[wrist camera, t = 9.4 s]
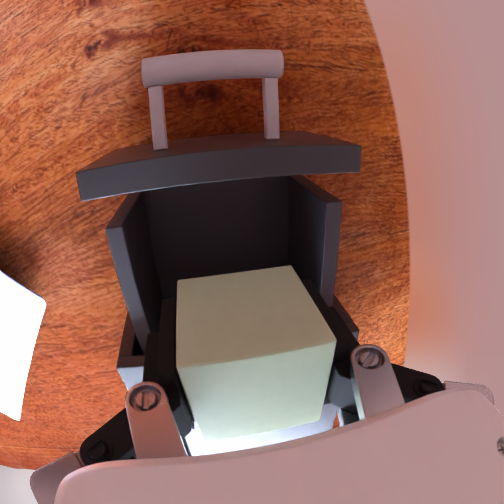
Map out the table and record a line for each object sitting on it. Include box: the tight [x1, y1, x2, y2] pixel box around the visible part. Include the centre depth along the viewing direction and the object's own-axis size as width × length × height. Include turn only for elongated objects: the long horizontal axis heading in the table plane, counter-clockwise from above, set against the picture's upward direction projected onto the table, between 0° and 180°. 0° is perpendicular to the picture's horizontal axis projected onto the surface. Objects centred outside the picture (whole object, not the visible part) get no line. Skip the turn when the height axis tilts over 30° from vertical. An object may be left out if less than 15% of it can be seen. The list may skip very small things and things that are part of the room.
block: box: [176, 265, 337, 442], centre depth 11 cm, size 4×4×4 cm
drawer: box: [76, 49, 361, 355], centre depth 16 cm, size 18×11×7 cm, turn 3°
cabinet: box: [117, 295, 359, 456], centre depth 21 cm, size 15×13×9 cm
